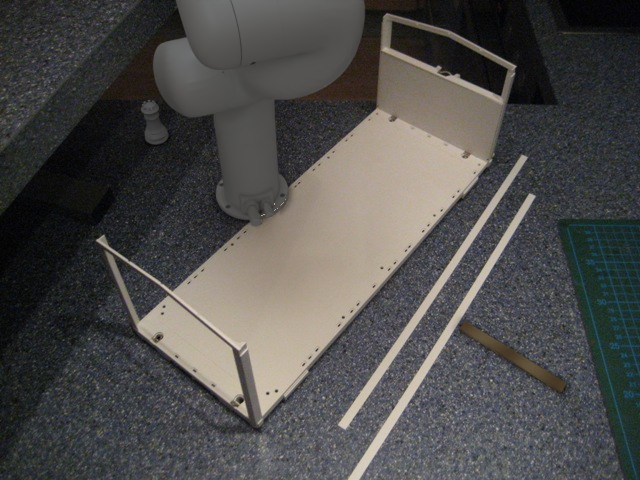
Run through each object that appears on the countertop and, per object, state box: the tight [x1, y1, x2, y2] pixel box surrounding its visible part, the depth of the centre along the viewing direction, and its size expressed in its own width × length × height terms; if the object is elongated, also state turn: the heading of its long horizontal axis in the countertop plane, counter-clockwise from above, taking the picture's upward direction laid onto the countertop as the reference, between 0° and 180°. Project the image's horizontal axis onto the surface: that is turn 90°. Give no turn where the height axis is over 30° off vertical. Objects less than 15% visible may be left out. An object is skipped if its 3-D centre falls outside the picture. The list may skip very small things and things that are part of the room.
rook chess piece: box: [140, 99, 170, 146], centre depth 116 cm, size 4×4×8 cm
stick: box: [459, 320, 567, 394], centre depth 88 cm, size 16×2×1 cm, turn 51°
